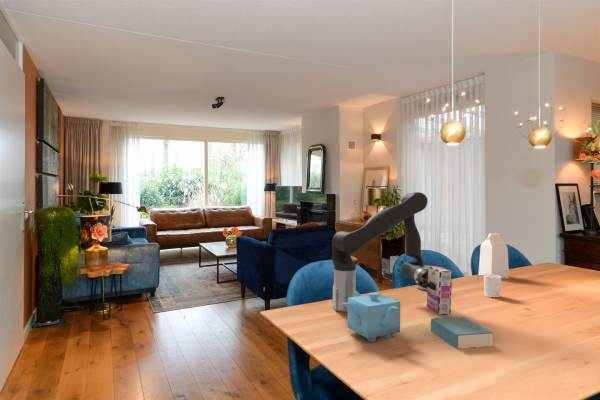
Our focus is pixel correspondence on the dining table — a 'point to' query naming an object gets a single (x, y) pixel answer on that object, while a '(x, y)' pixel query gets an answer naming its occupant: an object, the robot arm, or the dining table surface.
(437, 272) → the candy bar box
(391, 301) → the teakettle
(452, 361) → the dining table surface
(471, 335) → the teal rectangular box
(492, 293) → the white cup
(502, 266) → the milk
